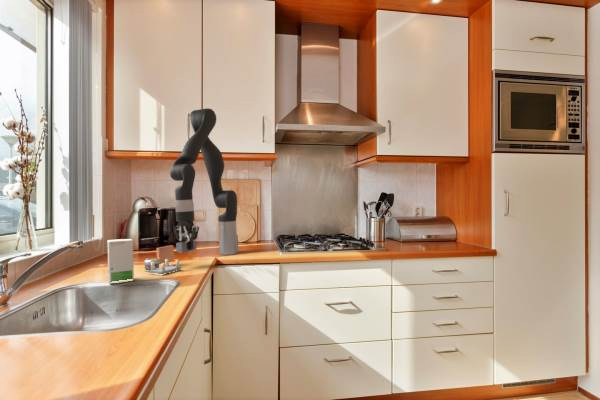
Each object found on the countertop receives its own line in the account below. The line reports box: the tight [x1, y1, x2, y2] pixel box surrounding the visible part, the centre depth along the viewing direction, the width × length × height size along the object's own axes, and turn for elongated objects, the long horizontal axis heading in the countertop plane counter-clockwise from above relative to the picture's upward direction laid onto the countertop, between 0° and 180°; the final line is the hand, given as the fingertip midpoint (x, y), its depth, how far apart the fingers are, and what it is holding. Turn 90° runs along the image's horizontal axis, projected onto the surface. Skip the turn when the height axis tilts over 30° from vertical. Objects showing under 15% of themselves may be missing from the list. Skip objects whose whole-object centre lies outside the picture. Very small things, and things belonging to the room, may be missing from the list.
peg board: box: [148, 259, 182, 274], centre depth 141 cm, size 10×8×4 cm
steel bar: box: [175, 239, 197, 254], centre depth 150 cm, size 8×4×4 cm, turn 151°
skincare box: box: [106, 238, 135, 283], centre depth 128 cm, size 8×7×16 cm
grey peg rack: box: [143, 244, 175, 267], centre depth 150 cm, size 14×6×7 cm, turn 151°
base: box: [144, 264, 160, 270], centre depth 147 cm, size 6×6×2 cm
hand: (187, 249), depth 150 cm, fingers closed on steel bar, 3 cm apart
